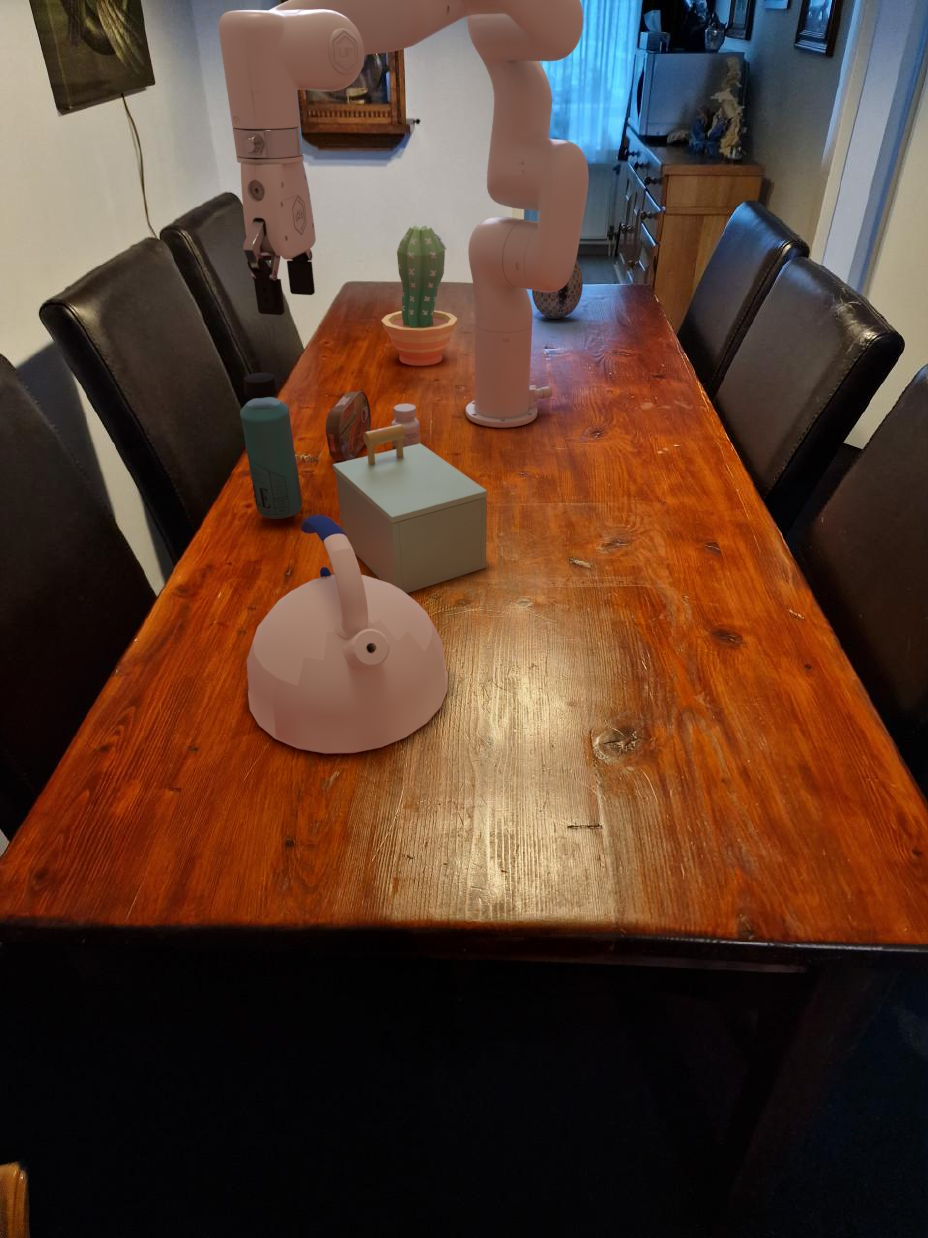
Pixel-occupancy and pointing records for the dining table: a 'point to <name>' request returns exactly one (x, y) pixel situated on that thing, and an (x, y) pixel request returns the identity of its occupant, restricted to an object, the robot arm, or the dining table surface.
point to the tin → (348, 426)
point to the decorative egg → (560, 297)
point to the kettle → (344, 659)
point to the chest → (415, 540)
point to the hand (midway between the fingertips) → (287, 303)
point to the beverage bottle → (270, 449)
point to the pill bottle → (407, 424)
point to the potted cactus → (420, 300)
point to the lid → (406, 478)
